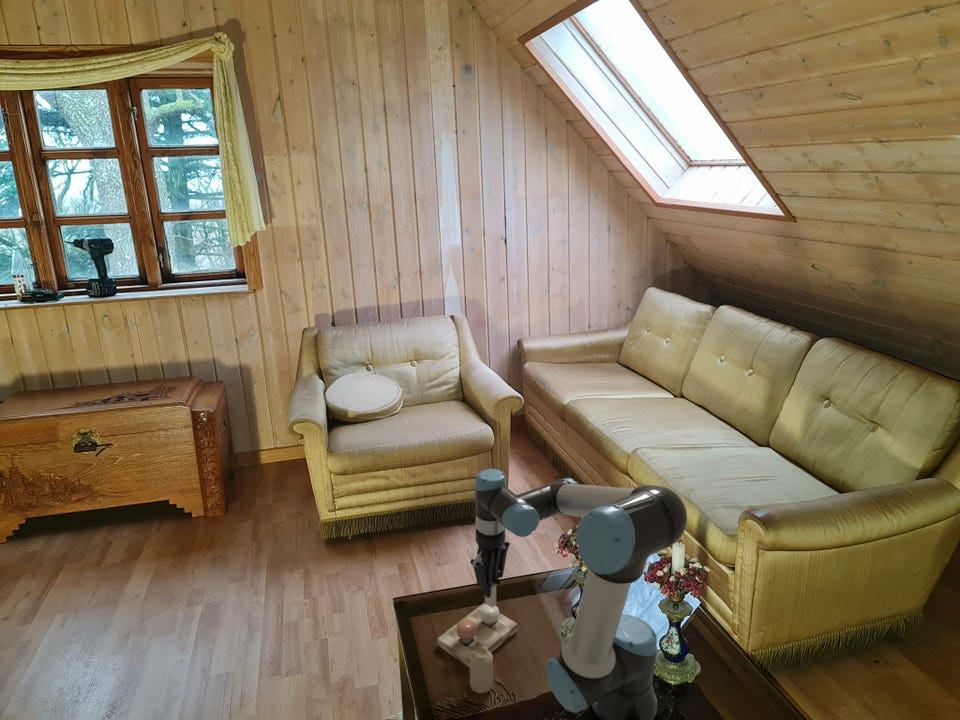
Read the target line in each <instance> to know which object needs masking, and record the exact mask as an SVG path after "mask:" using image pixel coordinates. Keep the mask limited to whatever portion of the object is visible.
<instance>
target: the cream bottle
mask: <svg viewBox="0 0 960 720" xmlns="http://www.w3.org/2000/svg"><path fill="white" fill-rule="evenodd" d="M493 661H494V656H493V654H492V653H490V652H489V651H488V650H486V649H484V648H480V649H477V650H475V651H473V652H472V653H471V655H470V668H469V686H470V688H471V690H472V691H473V692H475V693H478V694H486V693H488V692H489V691H491V689H492V687H493V681H494V680H493V679H494V677H493V676H494V675H493V674H494V669H493V667H494V662H493Z"/></svg>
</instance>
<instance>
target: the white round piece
mask: <svg viewBox="0 0 960 720" xmlns="http://www.w3.org/2000/svg"><path fill="white" fill-rule="evenodd" d="M499 613H500V610H499V607H498V606H496V605H495V606H494V607H493V608H492V607H490V606H489V605H487V604H486V605H484V606H482V607H481V609H480V619H481V620H482V621H483V622H485V626H487V627H489V628H491V627H492V626H494V622H496V621H497V620H498V618H499Z"/></svg>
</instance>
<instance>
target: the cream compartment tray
mask: <svg viewBox="0 0 960 720" xmlns="http://www.w3.org/2000/svg"><path fill="white" fill-rule="evenodd" d="M484 605H486V604H485V602H483V603H482V604H481V605H480V606H479V605H478V607H477V608H475V609H474V610H473V611H471V612H470V613H469V614H467V615H466V616H465V617H463V618H462V619H461V620H464V619H469V620H472V621H474V622H475V624H476V635H475V636H474V637H473V638H471V642H470V643H469V644H468V646H466V645H465V644H463V643H462V638H460V637H458V635H457V623H456V624H454V625H453V626H452V627H450V628H449V629H448V630H446V631H445V632H443V634H441V635H440V636H439V637H437V646H438V647H439V648H441V649H442V650H443V651H445V652H447V654H449V655H451V656H452V657H453V658H455V659H457V660H458V661H459V662H461V664H463V665H465V666H466V667H468V668H469V669H470V655H471V653H472V652H473V651H475V650H477V649H480V648H484V649H486V650H488V651H489V652H490V653H491V654H492V653H493V652H494V651H495V650H496V649H498V648H499V647H500V646H501V645H503V644H504V642H507V640H508V639H510V637H512V636H513V635H514V634H515V633H517V632H518V623H517V622H515V621H513V620H512V619H510V618H509V617H507V616H505V615H503V614H502V613H501V612H499V618H498V620H497V621H496V622H494V626H492V627H491V628H489V627H487V626H485V622H483V621H482V620H481V619H480V609H481V607H482V606H484Z"/></svg>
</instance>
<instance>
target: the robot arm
mask: <svg viewBox="0 0 960 720" xmlns="http://www.w3.org/2000/svg"><path fill="white" fill-rule="evenodd" d="M474 498H475V499H474V503H475V504H474V505H475V506H474V507H475V541H476V544H477V546H478V547H477V552H476V554H477V556H476V558H471V559H470V561H469V562H470V564H471V566H472V568H473V571H474V575H475V581H476V584H477V586H478V587H480V588H482V589H483V596H484V604H487V605H489V606H490V607H492V608H493V607H494V606H496V605H497V592H498V585H500V584H501V582H502V581H501V580H500V579H502V578H503V576H504V571H505V565H506V560H507V555H508V550H509V548H510V545H511V543H510V542H509V541H506V530H507V531H509V532H511V533H512V534H513V535H515V536H516V537H520V538H526V537H529V536H531V534H532V532H535V531H536V530H537V528H538V526H539V524H540V522H541V521H542V520H546V519H548V518H551V517H553V516H556V515H561V516H564V515H565V516H573V517H577V518H580V521H579V522H578V525H577V527H576V532H575V535H576V537H575V538H576V539H575V540H576V543H577V544H578V547H577V551H578V554H579V556H580V558H581V560H582V561H583V563H584V564H585V566H586V568H587V573H586V577H585V581H584V585H583V589H582V594H581V598H580V602H579V604H578V608H577V614H576V618H575V621H574V624H573V625H574V626H573V629H572V632H571V633H569V634H568V635H567V636H565V638H564V640H563V641H562V644H561V647H560V652H559V654H558V655H557V656H555V657H551V658H550V659H549V660H547V662H546V663H545V667H544V669H545V670H544V671H545V677H546V681H547V682H548V685H549V687H550V691H552V693H553V695H554V696H555V699H557V701H558V702H559V704H560V705H561V706H562V707H563V708H564V709H565V710H567V711H569V712H572V713H579V712H581V711H582V710H587V709H588V708H589V707H590V706H591V707H592V710H593V712H594V714H595V716H596V717H597V716H598V717H599V718H600V719H602V720H653V719H654V717H655V715H656V716H657V711H658V710H657V709H658V700H657V699H658V698H657V696H656V694H655V689H654V686H653V678H654V671H655V664H656V655H657V651H658V645H657V644H658V642H657V641H658V640H657V639H658V638H657V633H656V632H655V630H654V629H653V627H652V626H651V625H650V624H649V623H648V622H646V621H645V620H643V619H641V618H639V617H637V616H632V615H629V614H623V612H624V609H625V605H626V602H627V599H628V595H629V591H630V588H631V584H634V583H636V582H637V581H639V579H640V578H641V577H642V575H643V574H644V571H645V568H646V564H647V561H648V558H649V557H650V556H652V555H655V554H657V553H659V552H661V551H663V550H665V549H667V548H669V547H671V546H673V545H674V544H676V543H677V542H678V541H679V540H680V539H681V537H682V536H684V535H683V534H684V533H685V532H686V531H685V530H686V529H687V525H688V513H687V508H686V506H685V503H684V502H683V500H682V498H681V497H680V496H679V495H678V494H677V493H676V492H675V491H674V490H671V489H670V488H668V487H665V486H661V485H651V484H641V485H637V486H636V487H635V488H628V487H627V488H625V487H617V486H616V487H614V486H613V487H612V486H601V485H591V484H590V485H589V484H579V483H578V482H577V481H575V480H574V479H573V478H571V477H565V478H563V479H556V480H555V481H553V482H551V483H547V484H544V485H542V486H539V487H537V488H532V489H531V490H527V491H525V492H522V493H519V494H516V493H515V492H513V491H512V490H511V489H509V487H507V477H506V474H505V472H503V471H502V470H499V469H496V468H487V469H484V470H481V471H479V472H478V473H477V474H476V476H475V486H474ZM598 717H597V718H598ZM599 718H598V719H599ZM655 718H656V717H655ZM600 719H599V720H600ZM654 720H655V719H654Z"/></svg>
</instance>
